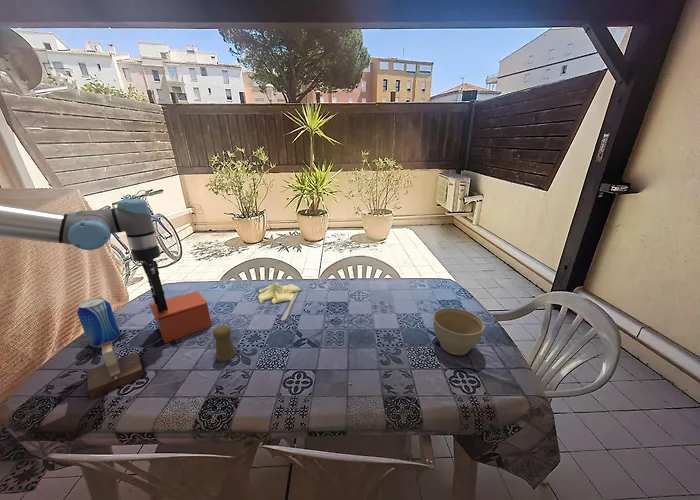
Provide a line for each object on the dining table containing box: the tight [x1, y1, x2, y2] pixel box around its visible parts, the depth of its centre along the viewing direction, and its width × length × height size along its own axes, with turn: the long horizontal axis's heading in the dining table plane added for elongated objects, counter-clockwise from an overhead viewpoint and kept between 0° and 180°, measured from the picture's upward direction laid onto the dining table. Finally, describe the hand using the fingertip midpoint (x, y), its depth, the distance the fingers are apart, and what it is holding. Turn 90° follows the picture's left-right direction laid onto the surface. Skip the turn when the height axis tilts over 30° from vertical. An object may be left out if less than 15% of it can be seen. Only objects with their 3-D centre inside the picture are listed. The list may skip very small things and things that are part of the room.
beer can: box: [76, 297, 121, 348], centre depth 94 cm, size 8×8×16 cm
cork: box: [212, 324, 237, 362], centre depth 88 cm, size 6×6×11 cm
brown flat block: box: [87, 351, 145, 399], centre depth 81 cm, size 12×10×3 cm
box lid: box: [148, 290, 208, 321], centre depth 100 cm, size 16×13×7 cm
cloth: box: [257, 282, 302, 304], centre depth 129 cm, size 22×19×6 cm
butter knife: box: [280, 291, 299, 322], centre depth 121 cm, size 1×27×3 cm
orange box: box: [155, 304, 212, 344], centre depth 103 cm, size 16×13×10 cm
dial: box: [101, 341, 120, 377], centre depth 79 cm, size 6×2×8 cm, turn 42°
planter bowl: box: [432, 307, 485, 356], centre depth 93 cm, size 16×16×11 cm
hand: (161, 306), depth 98 cm, fingers closed on box lid, 7 cm apart
